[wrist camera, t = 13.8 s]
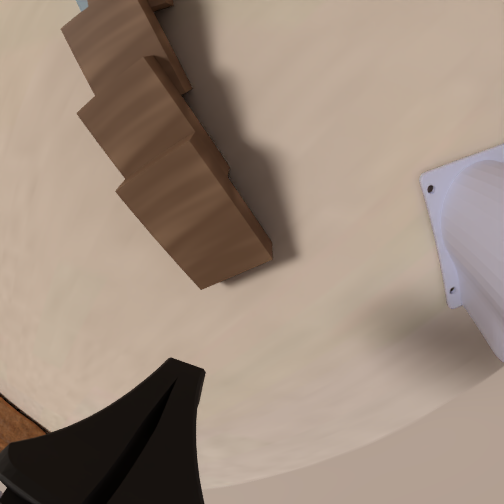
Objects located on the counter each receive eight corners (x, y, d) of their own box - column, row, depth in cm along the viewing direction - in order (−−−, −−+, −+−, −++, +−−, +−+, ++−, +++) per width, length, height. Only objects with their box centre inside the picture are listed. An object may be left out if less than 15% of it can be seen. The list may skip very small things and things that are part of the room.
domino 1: (185, 92, 15) (126, -20, 11) (115, 131, 17) (60, 28, 12) (192, 88, 17) (138, -17, 12) (125, 123, 18) (74, 27, 14)
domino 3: (272, 259, 18) (189, 140, 14) (201, 289, 20) (115, 191, 16) (271, 242, 19) (195, 131, 15) (204, 272, 21) (125, 178, 17)
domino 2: (227, 178, 17) (143, 56, 13) (156, 218, 18) (76, 113, 14) (229, 167, 18) (153, 55, 14) (163, 205, 20) (89, 106, 16)
